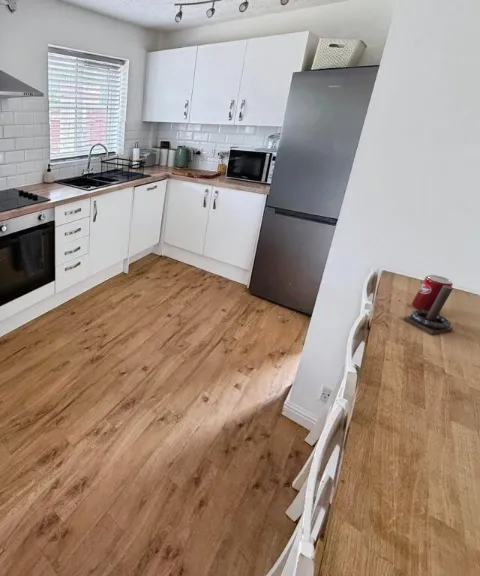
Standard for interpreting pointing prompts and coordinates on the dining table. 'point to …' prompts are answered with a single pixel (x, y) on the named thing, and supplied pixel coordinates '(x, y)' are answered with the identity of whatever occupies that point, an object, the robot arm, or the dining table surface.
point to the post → (433, 312)
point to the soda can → (429, 292)
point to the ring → (430, 324)
